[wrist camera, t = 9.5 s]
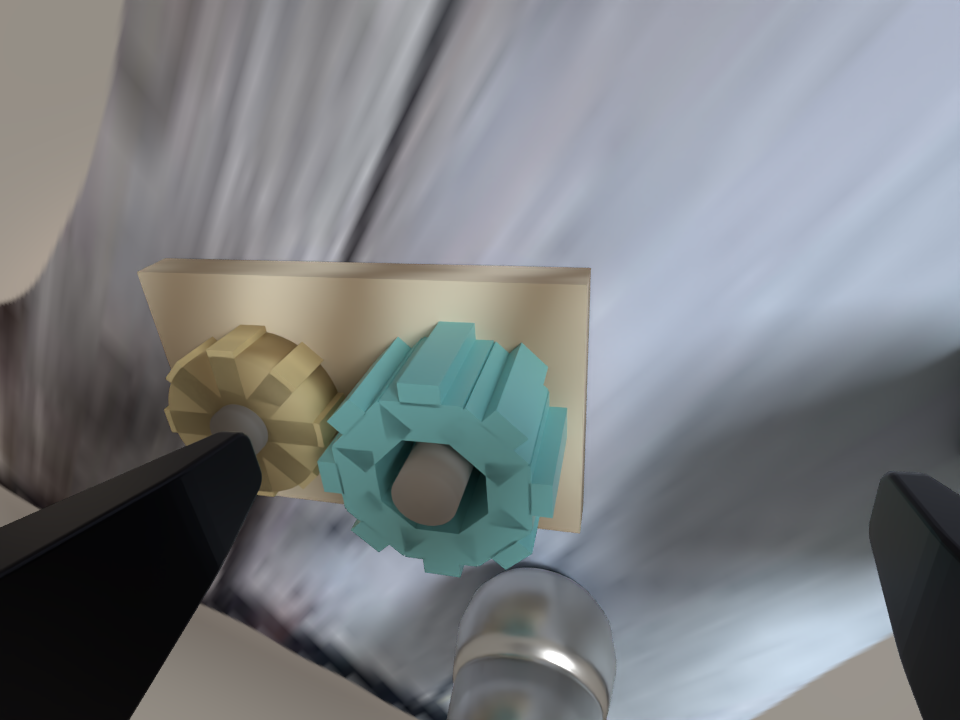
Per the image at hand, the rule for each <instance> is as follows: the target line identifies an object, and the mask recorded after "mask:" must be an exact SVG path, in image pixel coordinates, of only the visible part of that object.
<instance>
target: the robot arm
mask: <svg viewBox="0 0 960 720" xmlns="http://www.w3.org/2000/svg"><path fill="white" fill-rule="evenodd" d="M261 483H262V472H261V469H260V466H259V463H258V460H257V457H256V454H255V451H254V449H253V446H252V443H251V440H250V438H249V437H248V436H247V435H246V434H245V433H243V432H233V431H221V432H217V433H215V434H213V435H210V436H208V437H206V438H204V439H201V440H199V441H197V442H194V443H192V444H190V445H188V446H185V447H183V448H181V449H178V450H176V451H174V452H172V453H169V454H167V455H165V456H162V457H160V458H158V459H156V460H153V461H151V462H149V463H146V464H144V465H142V466H140V467H137V468H135V469H133V470H130V471H128V472H126V473H124V474H121V475H119V476H117V477H114V478H112V479H110V480H108V481H105V482H103V483H101V484H98V485H96V486H94V487H92V488H89V489H87V490H85V491H83V492H80V493H78V494H76V495H73V496H71V497H69V498H67V499H64V500H62V501H60V502H57V503H55V504H53V505H51V506H48V507H46V508H44V509H41V510H39V511H37V512H35V513H32V514H30V515H28V516H25V517H23V518H21V519H19V520H16V521H14V522H12V523H9V524H7V525H5V526H3V527H0V720H130V718H131V716H132V715H133V713H134V711H135V710H136V708H137V707H138V705H139V703H140V702H141V700H142V698H143V697H144V695H145V693H146V692H147V690H148V688H149V687H150V685H151V683H152V682H153V680H154V678H155V677H156V675H157V674H158V672H159V670H160V669H161V667H162V665H163V664H164V662H165V660H166V659H167V657H168V655H169V654H170V652H171V650H172V649H173V647H174V646H175V644H176V642H177V641H178V639H179V637H180V636H181V634H182V632H183V631H184V629H185V627H186V626H187V624H188V622H189V621H190V619H191V618H192V616H193V614H194V613H195V611H196V609H197V608H198V606H199V604H200V603H201V601H202V599H203V598H204V596H205V594H206V593H207V591H208V590H209V588H210V586H211V585H212V583H213V581H214V579H215V578H216V576H217V574H218V572H219V571H220V569H221V567H222V565H223V563H224V561H225V559H226V557H227V555H228V553H229V551H230V549H231V547H232V545H233V543H234V541H235V539H236V537H237V535H238V533H239V530H240V528H241V526H242V524H243V522H244V520H245V518H246V516H247V514H248V512H249V510H250V508H251V506H252V504H253V502H254V500H255V497H256V495H257V493H258V491H259V489H260V487H261ZM869 538H870V543H871V547H872V551H873V555H874V559H875V563H876V567H877V571H878V575H879V579H880V583H881V587H882V591H883V595H884V598H885V602H886V606H887V610H888V614H889V618H890V622H891V626H892V630H893V634H894V638H895V642H896V645H897V649H898V652H899V656H900V659H901V662H902V665H903V668H904V671H905V674H906V676H907V679H908V682H909V685H910V687H911V690H912V692H913V695H914V698H915V700H916V703H917V705H918V708H919V711H920V713H921V716H922V718H923V720H960V495H958V494H957V493H955V492H954V491H952V490H951V489H949V488H947V487H946V486H944V485H943V484H941V483H940V482H938V481H936V480H935V479H933V478H932V477H930V476H928V475H926V474H923V473H912V472H895V471H890V472H888V473H886V474H884V475H883V477H882V478H881V481H880V484H879V487H878V491H877V495H876V499H875V503H874V506H873V510H872V514H871V518H870V522H869Z"/></svg>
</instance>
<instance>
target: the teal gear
mask: <svg viewBox="0 0 960 720" xmlns="http://www.w3.org/2000/svg"><path fill="white" fill-rule="evenodd" d="M547 370H548V366H547V365H545V364H544V363H543V362H542V361H541V360H540V359H539V358H538V357H537V356H536V355H535V354H534V353H532V352H531V351H530V350H529V349H528V348H527V347H526V346H525V345H524V344H523V343H521V344H519V345H518V346H517V347H516V348H515V349H514V350H513V351H512V352H510V353H508V352H507V351H506V350H505V349H504V348H503V347H502V346H501V345H499V344H498V343H497V342H495V343H494V340H476V335H475V323H466V322H442V321H439V322H438V324H437V325H436V327H435V328H434V330H433V331H432V332H431V334H430V335H429V337H423V338H421V339H420V340H419V341H418V342H417V343H416V344H415V345H414V346H413V347H412V348H410V347H409V346H408V345H407V344H406V343H405V342H404V341H402V340H401V339H400V338H399V337H397V338H396V339H395V340H394V341H393V342H392V343H391V344H390V345H389V347H388V348H387V349H386V350H385V351H384V352H383V353H382V354H381V355H380V356H379V357H378V358H377V360H376V361H375V362H374V363H373V365H372V366H371V367H370V368H369V370H368V371H367V372H366V373H365V374H364V376H363V377H362V378H361V379H360V381H359V382H358V383H357V384H356V386H355V387H354V388H353V389H352V391H351V392H350V393H349V394H348V396H347V397H346V398H345V399H344V401H343V402H342V403H341V404H340V406H339V407H338V408H337V409H336V411H335V412H334V413H333V414H332V416H331V417H330V418H329V419H328V421H327V422H328V423H329V424H330V425H331V426H333V427H334V428H335V429H336V430H337V431H339V433H338V434H337V436H336V437H335V438H334V440H333V441H332V442H331V444H330V445H329V446H328V448H327V449H326V450H325V452H324V453H323V454H322V456H321V457H320V458H319V460H318V461H317V463H318V467H319V471H320V475H321V479H322V484H323V488H324V492H331V493H339V494H342V496H343V501H344V505H345V508H346V509H347V511H348V512H349V513H351V514H352V515H353V516H354V517H356V518H357V520H356V522H355V524H354V526H353V527H352V529H351V531H353V532H354V533H355V534H356V535H358V536H359V537H360V538H361V539H363V540H364V541H365V542H367V543H368V544H369V545H370V546H372V547H373V548H374V549H375V550H377V551H378V552H380V551H381V550H383V549H384V548H385V547H387V546H388V545H390V546H392V547H393V548H394V549H395V550H397V551H398V552H399V553H400V554H402V555H403V556H404V555H405V557H411V558H418V559H423V563H424V569H425V572H426V573H433V574H440V575H447V576H454V577H461V574H462V571H463V568H464V565H468V566H476V567H477V565H478V566H481V565H482V564H484V563H485V562H487V561H488V560H490V559H493V560H494V561H495V562H497V563H498V564H499V565H500V566H501V567H503V568H504V569H505V570H507V569H508V568H510V567H511V566H513V565H515V564H516V563H518V562H520V561H521V560H523V559H524V558H526V557H528V556H529V555H531V554H532V552H533V547H534V542H535V537H536V532H537V527H538V522H539V518H540V517H546V518H553V514H554V508H555V503H556V497H557V491H558V486H559V480H560V474H561V469H562V463H563V457H564V452H565V446H566V440H567V408H564V407H550V406H549V391H548V388H546V387H545V386H544V385H543V384H544V381H545V377H546V373H547ZM416 442H427V443H438V444H449V445H450V446H451V447H453V448H454V449H455V450H456V451H457V452H458V453H460V454H461V455H462V456H463V457H464V458H465V459H467V460H468V461H469V462H470V463H471V464H472V465H474V467H473V469H472V472H471V475H470V477H469V480H468V482H467V485H466V488H465V490H464V493H463V496H462V498H461V501H460V503H459V506H458V509H457V511H456V514H455V516H454V517H453V518H452V519H451V520H450V521H449V522H447V523H445V524H442V525H437V526H427V525H422V524H419V523H416V522H414V521H412V520H410V519H408V518H407V517H405V516H404V515H403V514H402V513H401V512H400V511H399V510H398V509H397V507H396V506H395V504H394V502H393V500H392V495H391V489H392V486H393V483H394V482H395V480H396V478H397V476H398V474H399V472H400V471H401V469H402V467H403V465H404V463H405V461H406V459H407V458H408V456H409V454H410V452H411V450H412V448H413V447H414V445H415V443H416Z"/></svg>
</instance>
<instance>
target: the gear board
mask: <svg viewBox="0 0 960 720" xmlns="http://www.w3.org/2000/svg"><path fill="white" fill-rule="evenodd" d="M137 274H138V276H139V279H140V282H141V285H142V288H143V291H144V294H145V296H146V299H147V302H148V305H149V308H150V311H151V314H152V316H153V319H154V322H155V325H156V328H157V331H158V334H159V336H160V339H161V342H162V345H163V348H164V351H165V353H166V356H167V359H168V362H169V365H170V368H171V371H170V372H169V374H168V375H167V377H166V378H165V379H166V380H168V381H169V382H170V383H171V385H170V388H169V396H168V398H169V406H168V407H166V408H165V409H164V412H165V414H166V417H167V420H168V422H169V425H170V428H171V430H172V432H176V433H178V434H179V436H180V437H181V439H182V440H183V442H184V443H185V445H186V446H188V445H190V444H192V443H194V442H197V441H199V440H201V439H204V438H206V437H208V436H210V435H213V434H215V433H217V432H221V431H233V432H243V433H245V434H246V435H247V436H248V437H249V438H250V440H251V443H252V446H253V449H254V451H255V454H256V457H257V460H258V463H259V466H260V469H261V472H262V483H261V487H260V489H259V491H258V493H257V495H263V496H271V497H275V496H283V497H291V498H299V499H307V500H315V501H323V502H331V503H339V504H344V501H343V496H342V494H339V493H331V492H324V488H323V484H322V479H321V475H320V471H319V467H318V463H317V461H318V460H319V458H320V457H321V456H322V454H323V453H324V452H325V450H326V449H327V448H328V446H329V445H330V444H331V442H332V441H333V440H334V438H335V437H336V436H337V434H338V433H339V431H337V430H336V429H335V428H334V427H333V426H331V425H330V424H329V423H328V422H327V421H328V419H329V418H330V417H331V416H332V414H333V413H334V412H335V411H336V409H337V408H338V407H339V406H340V404H341V403H342V402H343V401H344V399H345V398H346V397H347V396H348V394H349V393H350V392H351V391H352V389H353V388H354V387H355V386H356V384H357V383H358V382H359V381H360V379H361V378H362V377H363V376H364V374H365V373H366V372H367V371H368V370H369V368H370V367H371V366H372V365H373V363H374V362H375V361H376V360H377V358H378V357H379V356H380V355H381V354H382V353H383V352H384V351H385V350H386V349H387V348H388V347H389V345H390V344H391V343H392V342H393V341H394V340H395V339H396V338H397V337H399V338H400V339H401V340H402V341H404V342H405V343H406V344H407V345H408V346H409V347H410V348H412V347H413V346H414V345H415V344H416V343H417V342H418V341H419V340H420V339H421V338H423V337H429V335H430V334H431V332H432V331H433V330H434V328H435V327H436V325H437V324H438V322H439V321H442V322H466V323H475V335H476V340H494V343H495V342H497V343H498V344H499V345H501V346H502V347H503V348H504V349H505V350H506V351H507V352H508V353H510V352H512V351H513V350H514V349H515V348H516V347H517V346H518V345H519V344H521V343H523V344H524V345H525V346H526V347H527V348H528V349H529V350H530V351H531V352H532V353H534V354H535V355H536V356H537V357H538V358H539V359H540V360H541V361H542V362H543V363H544V364H545V365H547V366H548V370H547V373H546V377H545V381H544V384H543V385H544V386H545V387H546V388H548V391H549V406H550V407H564V408H567V440H566V446H565V452H564V457H563V463H562V469H561V474H560V480H559V486H558V491H557V497H556V503H555V508H554V514H553V518H546V517H540V518H539V522H538V527H537V528H540V529H548V530H556V531H564V532H572V533H580V529H581V520H582V512H583V494H584V463H585V432H586V401H587V369H588V338H589V307H590V276H591V268H569V267H525V266H481V265H437V264H392V263H348V262H304V261H260V260H215V259H171V258H165V259H163V260H161V261H159V262H157V263H155V264H153V265H150V266H148V267H146V268H144V269H142V270H140V271H138V272H137ZM473 467H474V465H472V464H471V463H470V462H469V461H468V460H467V459H465V458H464V457H463V456H462V455H461V454H460V453H458V452H457V451H456V450H455V449H454V448H453V447H451V446H450V445H449V444H438V443H427V442H416V443H415V445H414V447H413V448H412V450H411V452H410V454H409V456H408V458H407V459H406V461H405V463H404V465H403V467H402V469H401V471H400V472H399V474H398V476H397V478H396V480H395V482H394V483H393V486H392V489H391V495H392V500H393V502H394V504H395V506H396V507H397V509H398V510H399V511H400V512H401V513H402V514H403V515H404V516H405V517H407V518H408V519H410V520H412V521H414V522H416V523H419V524H422V525H427V526H437V525H442V524H445V523H447V522H449V521H450V520H451V519H452V518H453V517H454V516H455V514H456V511H457V509H458V506H459V503H460V501H461V498H462V496H463V493H464V490H465V488H466V485H467V482H468V480H469V477H470V475H471V472H472V469H473Z"/></svg>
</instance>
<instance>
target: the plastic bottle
mask: <svg viewBox="0 0 960 720" xmlns="http://www.w3.org/2000/svg"><path fill="white" fill-rule="evenodd" d="M615 675H616V655H615V649H614V642H613V636H612V630H611V627H610V623H609V621H608V619H607V617H606V615H605V613H604V612H603V610H602V609H601V607H600V606H599V605H598V603H597V602H596V600H595V599H594V598H593V597H592V596H591V595H590V593H589V592H588V591H587V590H585V589H584V588H583V587H582V586H581V585H579V584H578V583H576V582H575V581H573V580H571V579H570V578H568V577H565V576H563V575H561V574H558V573H555V572H552V571H548V570H545V569H538V568H516V569H510V570H507V571H504V572H502V573H500V574H498V575H497V576H495V577H493V578H492V579H490V580H489V581H487V582H485V583H484V584H482V585H481V586H480V587H479V588H478V589H477V590H476V591H475V593H474V595H473V597H472V599H471V601H470V603H469V605H468V607H467V609H466V611H465V613H464V615H463V617H462V619H461V621H460V623H459V628H458V635H457V642H456V649H455V656H454V665H453V689H452V694H451V699H450V705H449V710H448V715H447V720H606V718H607V714H608V711H609V707H610V703H611V698H612V692H613V687H614V681H615Z"/></svg>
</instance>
